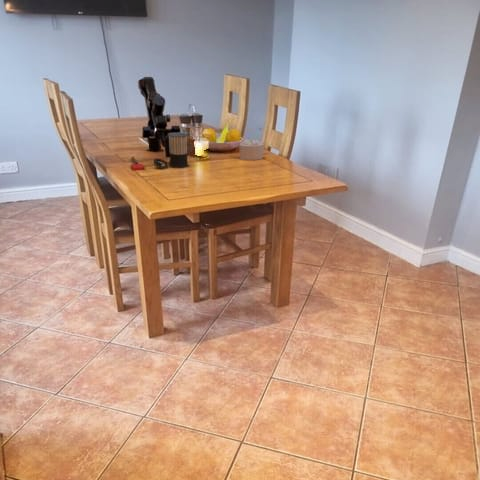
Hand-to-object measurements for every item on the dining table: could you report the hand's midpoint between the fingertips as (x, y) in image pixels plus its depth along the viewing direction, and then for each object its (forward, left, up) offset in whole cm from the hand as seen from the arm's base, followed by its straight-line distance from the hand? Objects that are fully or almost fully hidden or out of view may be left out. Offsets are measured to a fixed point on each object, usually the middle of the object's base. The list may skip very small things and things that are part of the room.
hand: (164, 146), depth 225 cm
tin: (-22, +2, -8) cm, 23 cm away
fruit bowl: (-45, +3, -8) cm, 46 cm away
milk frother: (+4, +8, -8) cm, 12 cm away
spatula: (+12, -8, -8) cm, 17 cm away
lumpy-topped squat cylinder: (-37, +28, -8) cm, 47 cm away
